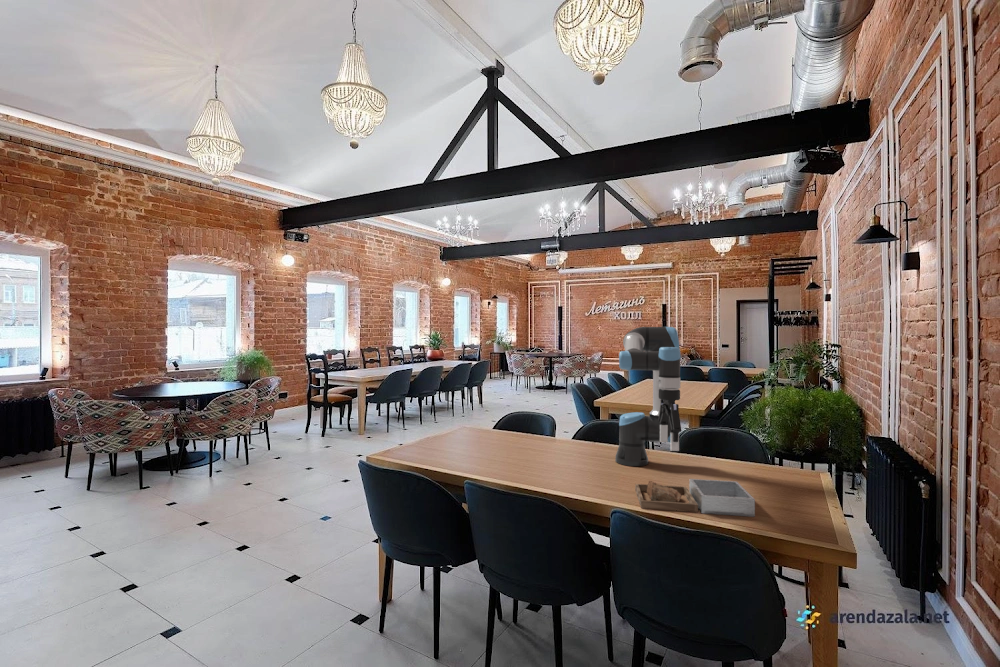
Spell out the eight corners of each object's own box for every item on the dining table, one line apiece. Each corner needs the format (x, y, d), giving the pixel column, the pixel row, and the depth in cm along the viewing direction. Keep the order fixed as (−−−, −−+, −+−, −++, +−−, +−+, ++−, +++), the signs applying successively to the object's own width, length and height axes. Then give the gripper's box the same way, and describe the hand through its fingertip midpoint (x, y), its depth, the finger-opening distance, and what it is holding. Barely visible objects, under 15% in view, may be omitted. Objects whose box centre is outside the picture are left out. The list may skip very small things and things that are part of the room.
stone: (655, 505, 180) (676, 489, 180) (666, 519, 170) (688, 503, 169) (639, 485, 179) (660, 469, 178) (648, 498, 168) (671, 481, 168)
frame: (635, 490, 185) (635, 483, 185) (686, 493, 182) (686, 486, 182) (641, 508, 166) (641, 501, 166) (697, 511, 163) (697, 504, 163)
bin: (689, 494, 181) (689, 478, 181) (736, 497, 178) (736, 481, 178) (701, 513, 162) (701, 495, 162) (754, 516, 159) (754, 499, 159)
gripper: (650, 385, 186) (649, 438, 186) (669, 392, 161) (668, 454, 161) (669, 385, 186) (669, 438, 186) (691, 393, 161) (691, 454, 161)
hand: (669, 446), depth 173 cm, fingers open, 13 cm apart
